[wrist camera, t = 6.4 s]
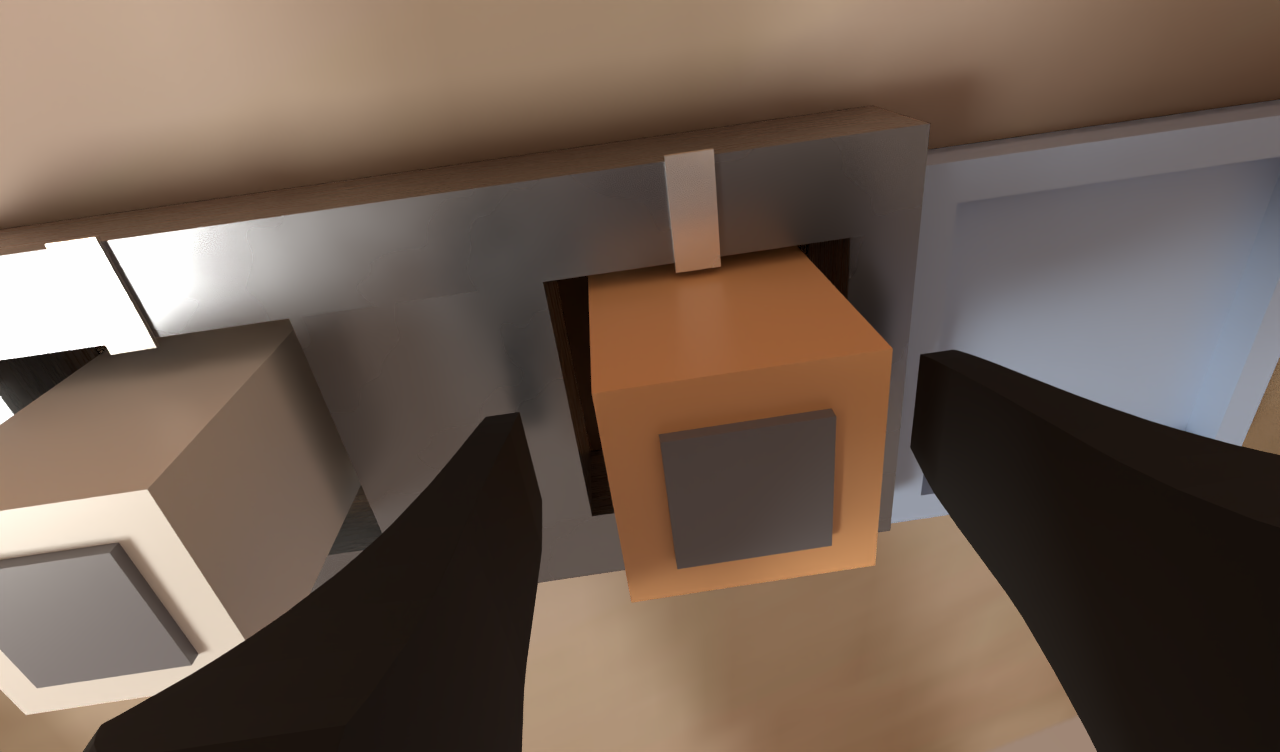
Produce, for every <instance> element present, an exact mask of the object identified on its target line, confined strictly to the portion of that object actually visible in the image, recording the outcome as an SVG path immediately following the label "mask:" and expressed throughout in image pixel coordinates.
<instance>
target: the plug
mask: <svg viewBox="0 0 1280 752" xmlns="http://www.w3.org/2000/svg"><path fill="white" fill-rule="evenodd" d="M720 259H721V267H714V268H707V269H700V270H693V271H686V272H679V273H676V271H675V263H671V264H664V265H657V266H650V267H643V268H637V269H630V270H623V271H616V272H609V273H602V274H595V275H588V290H589V323H590V355H591V387H592V398H593V403H594V408H595V414H596V419H597V424H598V429H599V434H600V440H601V445H602V450H603V455H604V461H605V466H606V471H607V476H608V482H609V487H610V492H611V497H612V503H613V508H614V513H615V518H616V523H617V529H618V534H619V539H620V544H621V550H622V555H623V560H624V565H625V571H626V576H627V581H628V586H629V592H630V597H631V602H638V601H645V600H651V599H658V598H664V597H671V596H677V595H684V594H691V593H697V592H704V591H710V590H717V589H723V588H730V587H736V586H743V585H749V584H756V583H762V582H769V581H775V580H782V579H789V578H795V577H802V576H808V575H815V574H821V573H828V572H834V571H841V570H847V569H854V568H860V567H867V566H874V565H875V560H876V548H877V536H878V523H879V511H880V499H881V487H882V475H883V462H884V450H885V438H886V426H887V413H888V401H889V389H890V377H891V365H892V352H893V348H892V347H891V346H890V345H889V344H888V343H887V342H886V341H885V340H884V339H883V338H882V336H881V335H880V334H879V333H878V332H877V331H876V330H875V329H874V328H873V327H872V326H871V325H870V324H869V323H868V322H867V320H866V319H865V318H864V317H863V316H862V315H861V314H860V313H859V312H858V311H857V310H856V309H855V308H854V307H853V305H852V304H851V303H850V302H849V301H848V300H847V299H846V298H845V297H844V296H843V295H842V294H841V293H840V292H839V291H838V289H837V288H836V287H835V286H834V285H833V284H832V283H831V282H830V281H829V280H828V279H827V278H826V277H825V276H824V274H823V273H822V272H821V271H820V270H819V269H818V268H817V267H816V266H815V265H814V264H813V263H812V262H811V261H810V260H809V258H808V257H807V256H806V255H805V254H804V253H803V252H802V251H801V250H800V249H799V248H798V247H797V246H789V247H782V248H775V249H769V250H762V251H755V252H748V253H741V254H734V255H727V256H720Z"/></svg>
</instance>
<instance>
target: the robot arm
mask: <svg viewBox="0 0 1280 752" xmlns="http://www.w3.org/2000/svg"><path fill="white" fill-rule="evenodd" d="M910 448H911V450H912V452H913V454H914V456H915V458H916V460H917V462H918V464H919V466H920V468H921V470H922V472H923V474H924V476H925V478H926V480H927V481H928V483H929V485H930V487H931V489H932V491H933V492H934V494H935V495H936V497H937V498H938V500H939V501H940V503H941V504H942V505H943V507H944V508H945V510H946V511H947V512H948V514H949V515H950V517H951V518H952V519H953V521H954V522H955V524H956V525H957V526H958V528H959V529H960V530H961V532H962V533H963V535H964V536H965V537H966V539H967V540H968V541H969V543H970V544H971V545H972V547H973V548H974V549H975V551H976V552H977V554H978V555H979V556H980V558H981V559H982V560H983V562H984V563H985V564H986V566H987V567H988V569H989V570H990V571H991V573H992V574H993V575H994V577H995V578H996V579H997V581H998V582H999V584H1000V585H1001V586H1002V588H1003V589H1004V590H1005V592H1006V593H1007V595H1008V596H1009V598H1010V599H1011V600H1012V602H1013V603H1014V605H1015V606H1016V608H1017V609H1018V611H1019V612H1020V614H1021V615H1022V617H1023V619H1024V620H1025V622H1026V624H1027V625H1028V627H1029V629H1030V631H1031V632H1032V634H1033V636H1034V637H1035V639H1036V641H1037V643H1038V644H1039V646H1040V648H1041V649H1042V651H1043V653H1044V655H1045V656H1046V658H1047V660H1048V661H1049V663H1050V665H1051V667H1052V668H1053V670H1054V672H1055V674H1056V675H1057V677H1058V679H1059V681H1060V683H1061V685H1062V686H1063V688H1064V690H1065V692H1066V694H1067V696H1068V697H1069V699H1070V701H1071V703H1072V705H1073V707H1074V708H1075V710H1076V712H1077V714H1078V716H1079V718H1080V719H1081V721H1082V723H1083V725H1084V727H1085V729H1086V730H1087V733H1088V734H1089V736H1090V738H1091V740H1092V742H1093V744H1094V746H1095V748H1096V750H1097V752H1280V455H1277V454H1272V453H1267V452H1263V451H1259V450H1254V449H1250V448H1246V447H1242V446H1238V445H1234V444H1230V443H1226V442H1222V441H1219V440H1215V439H1212V438H1208V437H1204V436H1201V435H1197V434H1194V433H1190V432H1186V431H1183V430H1179V429H1176V428H1172V427H1169V426H1166V425H1162V424H1159V423H1156V422H1153V421H1149V420H1146V419H1143V418H1140V417H1137V416H1134V415H1132V414H1129V413H1126V412H1123V411H1120V410H1117V409H1114V408H1111V407H1108V406H1105V405H1102V404H1100V403H1097V402H1094V401H1091V400H1089V399H1086V398H1083V397H1080V396H1078V395H1075V394H1073V393H1070V392H1067V391H1065V390H1062V389H1060V388H1057V387H1054V386H1052V385H1049V384H1047V383H1044V382H1042V381H1039V380H1037V379H1034V378H1031V377H1029V376H1026V375H1024V374H1021V373H1019V372H1016V371H1014V370H1011V369H1009V368H1006V367H1004V366H1001V365H999V364H996V363H993V362H991V361H988V360H985V359H983V358H980V357H977V356H974V355H971V354H968V353H965V352H962V351H958V350H947V351H940V352H933V353H926V354H920V361H919V370H918V379H917V388H916V398H915V407H914V416H913V425H912V435H911V444H910ZM541 554H542V498H541V494H540V490H539V486H538V482H537V478H536V474H535V470H534V466H533V462H532V459H531V455H530V451H529V447H528V443H527V439H526V435H525V431H524V427H523V423H522V419H521V416H520V412H515V413H508V414H502V415H495V416H488V417H485V418H484V419H483V420H482V422H481V423H480V424H479V425H478V426H477V428H476V429H475V430H474V431H473V432H472V434H471V435H470V436H469V437H468V439H467V440H466V441H465V442H464V444H463V445H462V446H461V447H460V449H459V450H458V451H457V452H456V453H455V455H454V456H453V457H452V458H451V459H450V461H449V462H448V463H447V464H446V465H445V467H444V468H443V469H442V470H441V471H440V472H439V474H438V475H437V476H436V477H435V478H434V480H433V481H432V482H431V483H430V484H429V485H428V486H427V487H426V488H425V490H424V491H423V492H422V493H421V494H420V495H419V496H418V497H417V498H416V499H415V500H414V501H413V502H412V503H411V504H410V505H409V506H408V508H407V509H406V510H405V511H404V512H403V513H402V514H401V515H400V516H399V517H398V518H397V519H396V520H395V521H394V522H393V523H392V524H391V525H390V526H389V527H388V528H387V529H386V530H385V531H384V532H383V533H382V534H381V535H380V536H379V537H378V538H377V539H376V540H375V541H374V542H372V543H371V544H370V545H369V546H368V547H367V548H366V549H365V550H363V551H362V552H361V553H360V554H359V555H358V556H357V557H355V558H354V559H353V560H352V561H351V562H350V563H349V564H347V565H346V566H345V567H344V568H343V569H341V570H340V571H339V572H338V573H337V574H335V575H334V576H333V577H331V578H330V579H329V580H328V581H326V582H325V583H324V584H322V585H321V586H320V587H318V588H317V589H316V590H314V591H313V592H312V593H311V594H309V595H308V596H307V597H305V598H304V599H303V600H301V601H300V602H299V603H297V604H296V605H295V606H294V607H292V608H291V609H290V610H288V611H287V612H286V613H284V614H283V615H281V616H280V617H279V618H277V619H276V620H274V621H273V622H271V623H270V624H268V625H267V626H266V627H264V628H263V629H261V630H260V631H258V632H257V633H255V634H254V635H252V636H251V637H249V638H248V639H246V640H245V641H243V642H242V643H240V644H239V645H237V646H235V647H234V648H232V649H231V650H229V651H228V652H226V653H225V654H223V655H221V656H220V657H218V658H217V659H215V660H214V661H212V662H210V663H209V664H207V665H205V666H204V667H202V668H201V669H199V670H197V671H196V672H194V673H192V674H191V675H189V676H187V677H185V678H184V679H182V680H180V681H178V682H177V683H175V684H173V685H171V686H170V687H168V688H166V689H164V690H163V691H161V692H159V693H157V694H156V695H154V696H152V697H150V698H149V699H147V700H145V701H143V702H142V703H140V704H138V705H136V706H135V707H133V708H131V709H129V710H127V711H126V712H124V713H122V714H120V715H118V716H117V717H115V718H113V719H111V720H109V721H107V722H105V723H104V724H102V725H101V726H100V727H99V729H98V730H97V732H96V733H95V735H94V736H93V737H92V739H91V740H90V742H89V743H88V745H87V746H86V748H85V749H84V751H83V752H522V729H523V701H524V684H525V674H526V663H527V656H528V649H529V642H530V635H531V628H532V620H533V613H534V606H535V599H536V592H537V584H538V577H539V570H540V562H541Z"/></svg>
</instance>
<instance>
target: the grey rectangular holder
mask: <svg viewBox="0 0 1280 752" xmlns="http://www.w3.org/2000/svg"><path fill="white" fill-rule="evenodd" d="M929 131H930V123H927V122H924V121H921V120H917V119H914V118H911V117H908V116H904V115H901V114H898V113H895V112H891V111H888V110H885V109H882V108H879V107H875V106H866V107H859V108H852V109H845V110H838V111H831V112H824V113H817V114H810V115H803V116H796V117H789V118H782V119H775V120H768V121H761V122H753V123H746V124H739V125H732V126H725V127H718V128H711V129H704V130H697V131H690V132H683V133H676V134H669V135H662V136H655V137H648V138H641V139H634V140H627V141H620V142H613V143H606V144H599V145H592V146H585V147H578V148H570V149H563V150H556V151H549V152H542V153H535V154H528V155H521V156H514V157H507V158H500V159H493V160H486V161H479V162H472V163H465V164H458V165H451V166H444V167H437V168H430V169H423V170H416V171H409V172H402V173H395V174H387V175H380V176H373V177H366V178H359V179H352V180H345V181H338V182H331V183H324V184H317V185H310V186H303V187H296V188H289V189H282V190H275V191H268V192H261V193H254V194H247V195H240V196H233V197H226V198H219V199H211V200H204V201H197V202H190V203H183V204H176V205H169V206H162V207H155V208H148V209H141V210H134V211H127V212H120V213H113V214H106V215H99V216H92V217H85V218H78V219H71V220H64V221H57V222H50V223H43V224H36V225H28V226H21V227H14V228H7V229H0V424H2V423H3V422H4V421H6V420H7V419H9V418H10V417H12V416H13V415H14V414H16V413H17V412H19V411H20V410H22V409H23V408H24V407H26V406H27V405H29V404H30V403H31V402H33V401H34V400H36V399H37V398H39V397H40V396H41V395H43V394H44V393H46V392H47V391H49V390H50V389H51V388H53V387H54V386H56V385H57V384H58V383H60V382H61V381H63V380H64V379H66V378H67V377H68V376H70V375H71V374H73V373H74V372H76V371H77V370H78V369H80V368H81V367H83V366H84V365H85V364H87V363H88V362H90V361H91V360H93V359H94V358H95V357H97V356H98V355H99V353H98V352H97V350H96V348H95V346H102V345H106V347H107V348H108V350H109V352H110V353H111V354H117V353H124V352H131V351H138V350H145V349H152V348H157V347H158V346H160V344H159V343H158V341H157V339H156V338H157V337H164V336H171V335H178V334H185V333H192V332H199V331H206V330H213V329H220V328H227V327H234V326H241V325H248V324H254V323H261V322H268V321H275V320H282V319H289V320H290V322H291V324H292V326H293V329H294V331H295V333H296V336H297V338H298V340H299V343H300V345H301V347H302V350H303V352H304V354H305V356H306V359H307V361H308V363H309V366H310V368H311V370H312V373H313V375H314V377H315V380H316V382H317V384H318V386H319V389H320V391H321V393H322V396H323V398H324V400H325V403H326V405H327V407H328V410H329V412H330V414H331V416H332V419H333V421H334V423H335V426H336V428H337V430H338V433H339V435H340V437H341V440H342V442H343V444H344V447H345V449H346V451H347V453H348V456H349V458H350V460H351V463H352V465H353V467H354V470H355V472H356V474H357V477H358V479H359V481H360V483H361V486H360V488H359V490H358V492H357V494H356V496H355V499H354V501H353V503H352V505H351V507H350V509H349V511H348V513H347V516H346V518H345V520H344V522H343V524H342V526H341V528H340V530H339V533H338V535H337V537H336V539H335V541H334V543H333V545H332V547H331V550H330V552H329V554H328V556H327V558H326V560H325V562H324V564H323V567H322V569H321V571H320V573H319V575H318V577H317V579H316V582H315V584H314V586H313V588H312V590H311V592H310V594H311V593H312V592H313V591H314V590H316V589H317V588H318V587H320V586H321V585H322V584H324V583H325V582H326V581H328V580H329V579H330V578H331V577H333V576H334V575H335V574H337V573H338V572H339V571H340V570H341V569H343V568H344V567H345V566H346V565H347V564H349V563H350V562H351V561H352V560H353V559H354V558H355V557H357V556H358V555H359V554H360V553H361V552H362V551H363V550H365V549H366V548H367V547H368V546H369V545H370V544H371V543H372V542H374V541H375V540H376V539H377V538H378V537H379V536H380V535H381V534H382V533H383V532H384V531H385V530H386V529H387V528H388V527H389V526H390V525H391V524H392V523H393V522H394V521H395V520H396V519H397V518H398V517H399V516H400V515H401V514H402V513H403V512H404V511H405V510H406V509H407V508H408V506H409V505H410V504H411V503H412V502H413V501H414V500H415V499H416V498H417V497H418V496H419V495H420V494H421V493H422V492H423V491H424V490H425V488H426V487H427V486H428V485H429V484H430V483H431V482H432V481H433V480H434V478H435V477H436V476H437V475H438V474H439V472H440V471H441V470H442V469H443V468H444V467H445V465H446V464H447V463H448V462H449V461H450V459H451V458H452V457H453V456H454V455H455V453H456V452H457V451H458V450H459V449H460V447H461V446H462V445H463V444H464V442H465V441H466V440H467V439H468V437H469V436H470V435H471V434H472V432H473V431H474V430H475V429H476V428H477V426H478V425H479V424H480V423H481V422H482V420H483V419H484V418H485V417H488V416H495V415H502V414H508V413H515V412H520V416H521V419H522V423H523V427H524V431H525V435H526V439H527V443H528V447H529V451H530V455H531V459H532V462H533V466H534V470H535V474H536V478H537V482H538V486H539V490H540V494H541V498H542V554H541V562H540V570H539V577H538V583H540V582H547V581H553V580H560V579H567V578H574V577H580V576H587V575H594V574H601V573H607V572H614V571H621V570H625V565H624V560H623V555H622V550H621V544H620V539H619V534H618V529H617V523H616V518H615V513H614V508H613V503H612V497H611V492H610V487H609V482H608V476H607V471H606V466H605V461H604V455H603V450H598V451H590V446H589V441H588V436H587V431H586V426H585V420H584V415H583V410H582V405H581V400H580V395H579V390H578V385H577V380H576V375H575V370H574V365H573V360H572V355H571V350H570V345H569V340H568V335H567V330H566V325H565V319H564V314H563V309H562V304H561V299H560V294H559V289H558V284H557V280H560V279H567V278H574V277H581V276H588V275H595V274H602V273H609V272H616V271H623V270H630V269H637V268H643V267H650V266H657V265H664V264H671V263H675V271H676V273H679V272H686V271H693V270H700V269H707V268H714V267H721V259H720V256H727V255H734V254H741V253H748V252H755V251H762V250H769V249H775V248H782V247H789V246H796V245H803V244H808V258H809V260H810V261H811V262H812V263H813V264H814V265H815V266H816V267H817V268H818V269H819V270H820V271H821V272H822V273H823V274H824V276H825V277H826V278H827V279H828V280H829V281H830V282H831V283H832V284H833V285H834V286H835V287H836V288H837V289H838V291H839V292H840V293H841V294H842V295H843V296H844V297H845V298H846V299H847V300H848V301H849V302H850V303H851V304H852V305H853V307H854V308H855V309H856V310H857V311H858V312H859V313H860V314H861V315H862V316H863V317H864V318H865V319H866V320H867V322H868V323H869V324H870V325H871V326H872V327H873V328H874V329H875V330H876V331H877V332H878V333H879V334H880V335H881V336H882V338H883V339H884V340H885V341H886V342H887V343H888V344H889V345H890V346H891V347H892V348H893V352H892V365H891V377H890V389H889V401H888V413H887V426H886V438H885V450H884V462H883V475H882V487H881V499H880V511H879V523H878V532H884V531H890V528H891V518H892V507H893V497H894V487H895V477H896V467H897V457H898V446H899V436H900V426H901V416H902V406H903V396H904V385H905V375H906V365H907V355H908V345H909V335H910V324H911V314H912V304H913V294H914V284H915V274H916V263H917V253H918V243H919V233H920V223H921V213H922V202H923V192H924V182H925V172H926V162H927V152H928V141H929Z"/></svg>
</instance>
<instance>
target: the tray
mask: <svg viewBox="0 0 1280 752" xmlns="http://www.w3.org/2000/svg"><path fill="white" fill-rule="evenodd" d="M947 350H958V351H962V352H965V353H968V354H971V355H974V356H977V357H980V358H983V359H985V360H988V361H991V362H993V363H996V364H999V365H1001V366H1004V367H1006V368H1009V369H1011V370H1014V371H1016V372H1019V373H1021V374H1024V375H1026V376H1029V377H1031V378H1034V379H1037V380H1039V381H1042V382H1044V383H1047V384H1049V385H1052V386H1054V387H1057V388H1060V389H1062V390H1065V391H1067V392H1070V393H1073V394H1075V395H1078V396H1080V397H1083V398H1086V399H1089V400H1091V401H1094V402H1097V403H1100V404H1102V405H1105V406H1108V407H1111V408H1114V409H1117V410H1120V411H1123V412H1126V413H1129V414H1132V415H1134V416H1137V417H1140V418H1143V419H1146V420H1149V421H1153V422H1156V423H1159V424H1162V425H1166V426H1169V427H1172V428H1176V429H1179V430H1183V431H1186V432H1190V433H1194V434H1197V435H1201V436H1204V437H1208V438H1212V439H1215V440H1219V441H1222V442H1226V443H1230V444H1234V445H1238V446H1242V444H1243V441H1244V439H1245V437H1246V434H1247V432H1248V430H1249V427H1250V425H1251V423H1252V420H1253V418H1254V416H1255V413H1256V411H1257V409H1258V406H1259V404H1260V402H1261V399H1262V397H1263V395H1264V392H1265V390H1266V388H1267V385H1268V383H1269V381H1270V378H1271V376H1272V374H1273V371H1274V369H1275V367H1276V364H1277V362H1278V359H1279V357H1280V99H1279V100H1272V101H1265V102H1258V103H1251V104H1244V105H1237V106H1230V107H1223V108H1216V109H1209V110H1202V111H1195V112H1188V113H1181V114H1174V115H1167V116H1160V117H1153V118H1146V119H1139V120H1132V121H1125V122H1118V123H1111V124H1104V125H1097V126H1090V127H1083V128H1076V129H1069V130H1062V131H1055V132H1048V133H1041V134H1034V135H1027V136H1020V137H1013V138H1006V139H999V140H992V141H985V142H978V143H971V144H964V145H957V146H950V147H943V148H936V149H929V150H928V152H927V162H926V172H925V182H924V192H923V202H922V213H921V223H920V233H919V243H918V253H917V263H916V274H915V284H914V294H913V304H912V314H911V324H910V335H909V345H908V355H907V365H906V375H905V385H904V396H903V406H902V416H901V426H900V436H899V446H898V457H897V467H896V477H895V487H894V497H893V507H892V518H891V523H897V522H903V521H910V520H917V519H924V518H930V517H937V516H944V515H949V514H948V512H947V511H946V510H945V508H944V507H943V505H942V504H941V503H940V501H939V500H938V498H937V497H936V495H935V494H934V492H933V491H932V489H931V487H930V485H929V483H928V481H927V480H926V478H925V476H924V474H923V472H922V470H921V468H920V466H919V464H918V462H917V460H916V458H915V456H914V454H913V452H912V450H911V448H910V444H911V435H912V425H913V416H914V407H915V398H916V388H917V379H918V370H919V361H920V354H926V353H933V352H940V351H947Z"/></svg>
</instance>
